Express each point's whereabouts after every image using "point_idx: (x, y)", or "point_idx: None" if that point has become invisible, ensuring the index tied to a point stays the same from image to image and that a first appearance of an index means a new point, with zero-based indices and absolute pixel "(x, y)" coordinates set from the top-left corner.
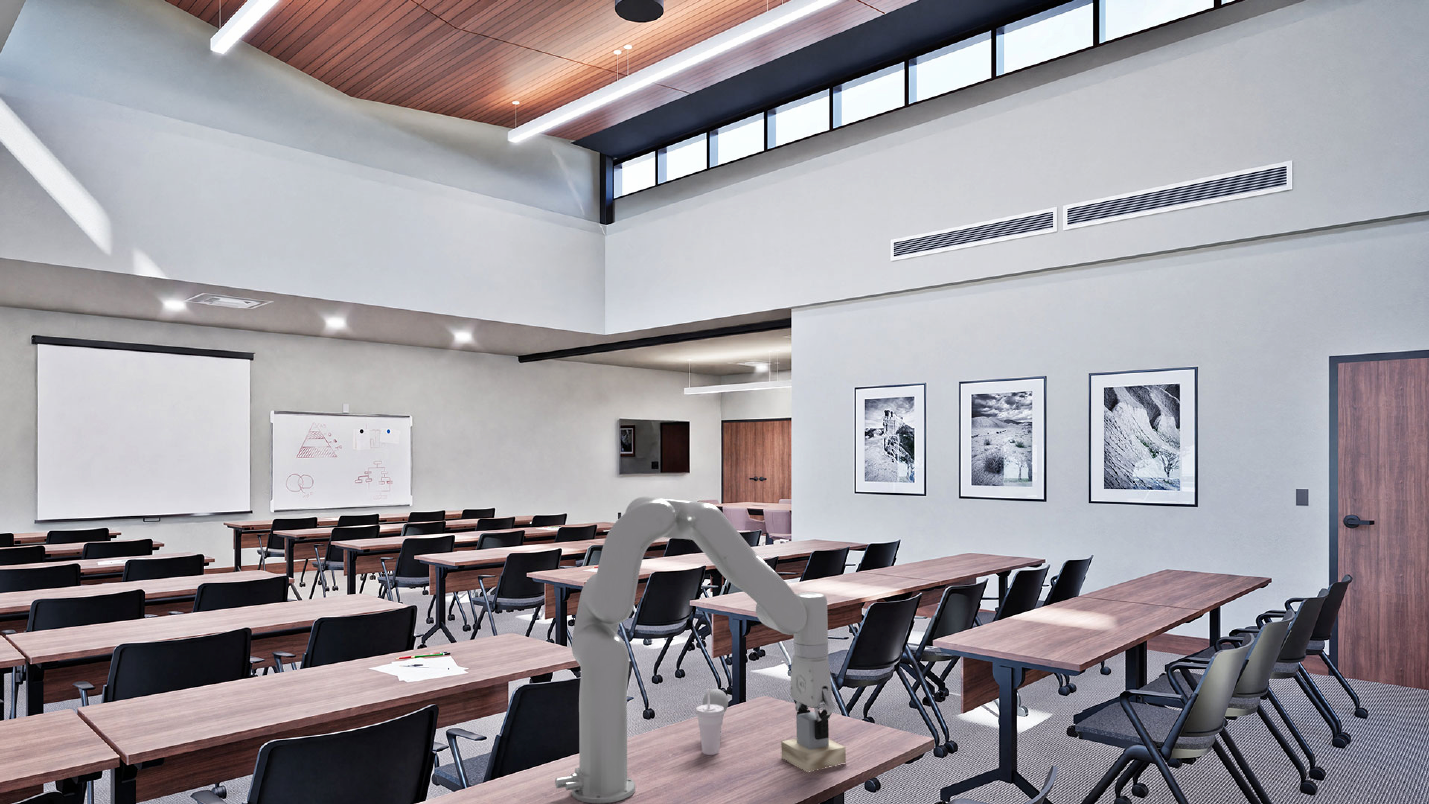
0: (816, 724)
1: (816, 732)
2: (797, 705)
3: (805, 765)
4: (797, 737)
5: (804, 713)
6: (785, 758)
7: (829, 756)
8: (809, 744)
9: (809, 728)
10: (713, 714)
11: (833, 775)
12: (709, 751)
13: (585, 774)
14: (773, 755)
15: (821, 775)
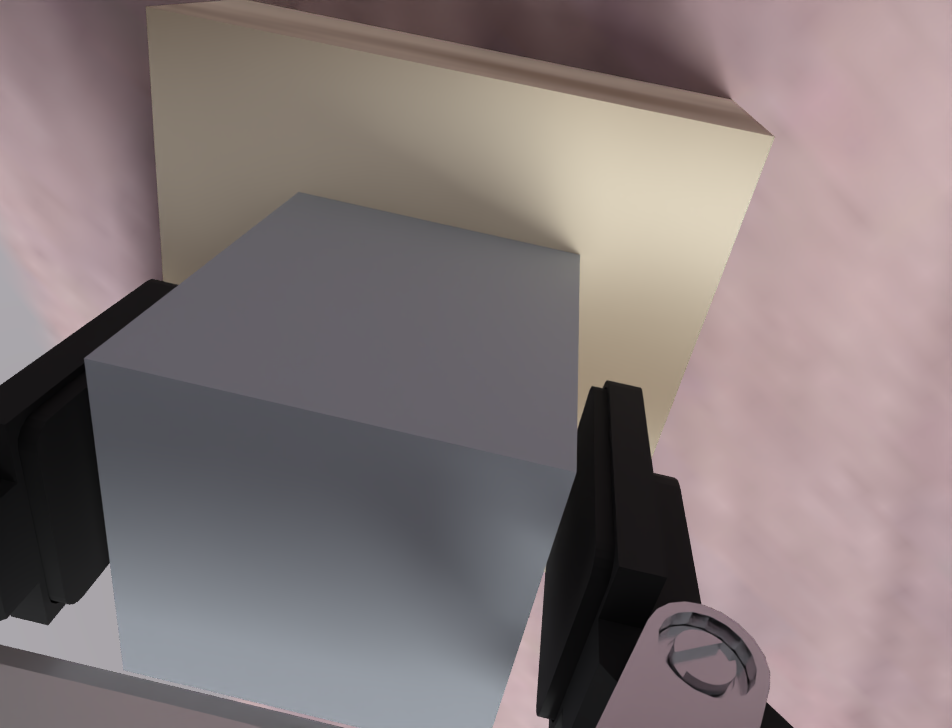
0: (13, 388)
1: (102, 322)
2: (680, 716)
3: (237, 7)
4: (560, 278)
5: (518, 610)
6: (656, 87)
7: None
8: (273, 212)
9: (169, 303)
10: None
11: (74, 152)
12: None
13: None
14: (862, 82)
15: (116, 63)
